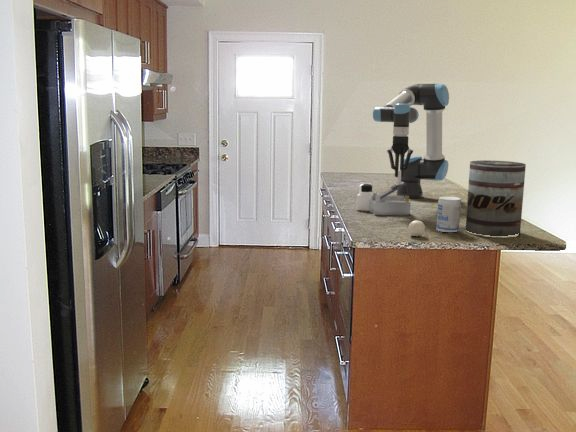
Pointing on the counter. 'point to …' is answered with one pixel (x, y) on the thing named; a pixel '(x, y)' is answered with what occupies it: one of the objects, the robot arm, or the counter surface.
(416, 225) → the baseball
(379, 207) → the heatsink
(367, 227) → the counter surface
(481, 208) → the barrel
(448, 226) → the supplement tub
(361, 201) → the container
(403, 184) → the lid
